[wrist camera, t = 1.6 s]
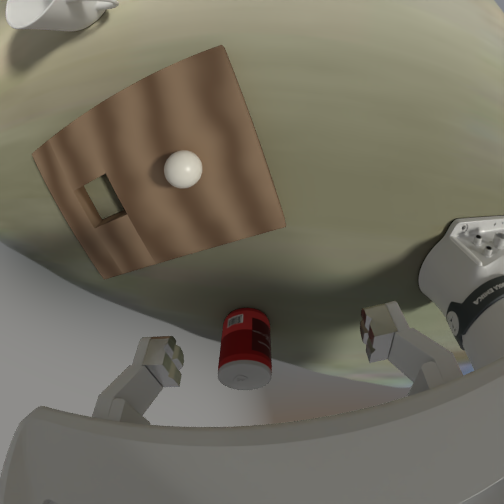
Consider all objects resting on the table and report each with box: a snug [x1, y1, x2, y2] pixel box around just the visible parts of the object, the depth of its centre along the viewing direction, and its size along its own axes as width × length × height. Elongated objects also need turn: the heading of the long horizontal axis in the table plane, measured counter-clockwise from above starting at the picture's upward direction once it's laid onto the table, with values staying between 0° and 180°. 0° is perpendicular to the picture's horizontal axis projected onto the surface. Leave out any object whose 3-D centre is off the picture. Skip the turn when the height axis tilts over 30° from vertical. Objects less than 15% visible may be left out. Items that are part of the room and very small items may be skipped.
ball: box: [164, 150, 202, 188], centre depth 28 cm, size 4×4×4 cm
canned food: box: [218, 308, 272, 390], centre depth 43 cm, size 8×8×11 cm
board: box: [32, 45, 286, 279], centre depth 32 cm, size 28×22×2 cm
